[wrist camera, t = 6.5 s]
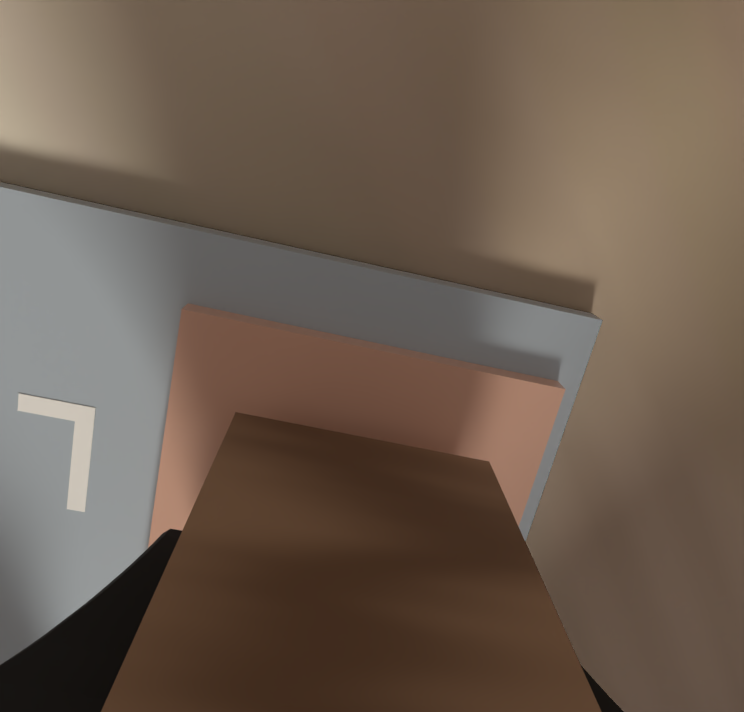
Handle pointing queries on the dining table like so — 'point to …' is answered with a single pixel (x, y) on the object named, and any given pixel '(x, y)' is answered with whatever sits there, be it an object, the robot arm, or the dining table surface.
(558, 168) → the dining table surface
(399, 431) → the terracotta pad
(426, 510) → the walnut block
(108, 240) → the board
